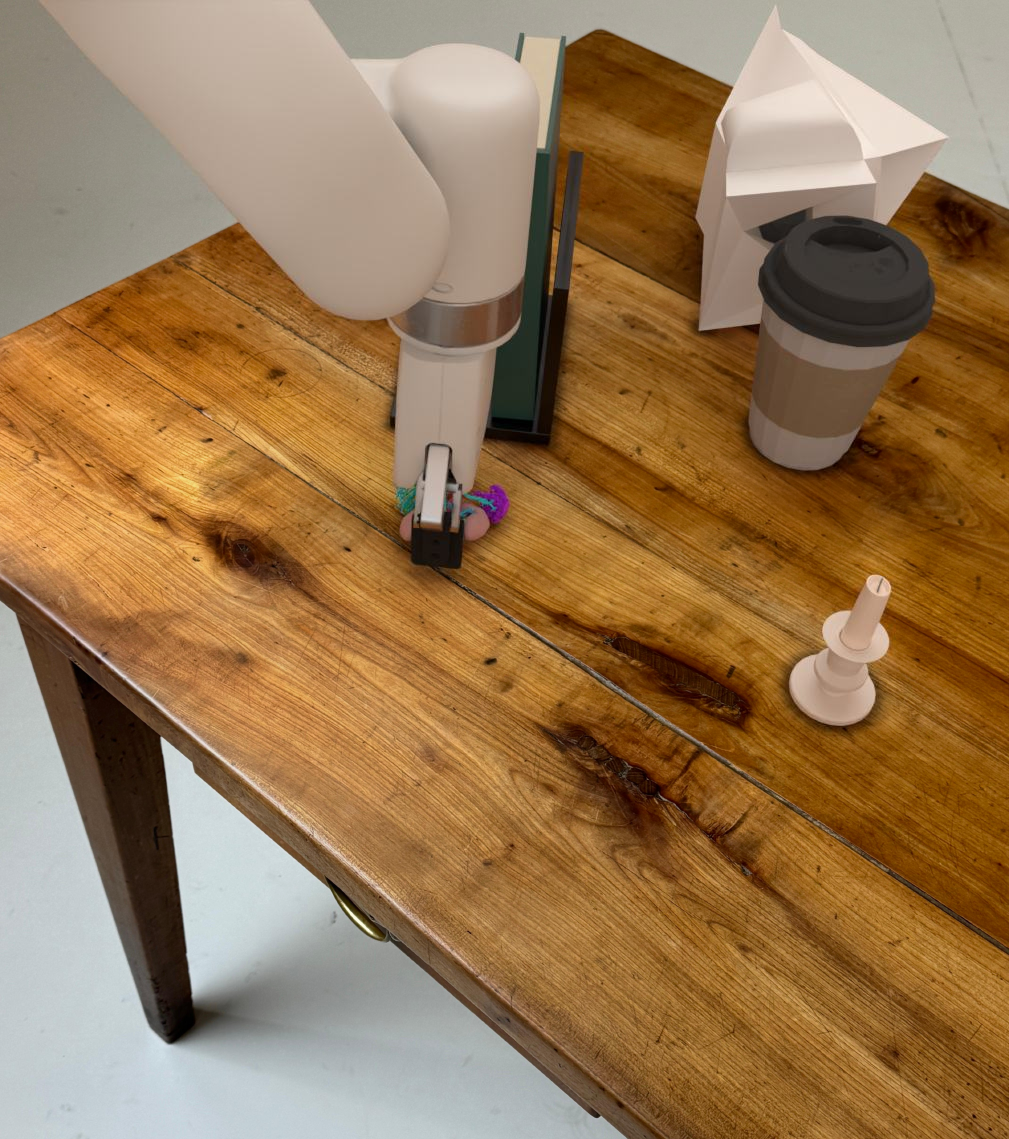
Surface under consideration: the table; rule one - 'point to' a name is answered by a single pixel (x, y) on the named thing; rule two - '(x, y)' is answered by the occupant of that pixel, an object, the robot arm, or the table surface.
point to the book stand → (554, 329)
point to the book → (534, 239)
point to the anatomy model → (471, 514)
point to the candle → (844, 661)
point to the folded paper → (796, 165)
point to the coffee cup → (831, 334)
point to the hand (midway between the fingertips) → (444, 518)
